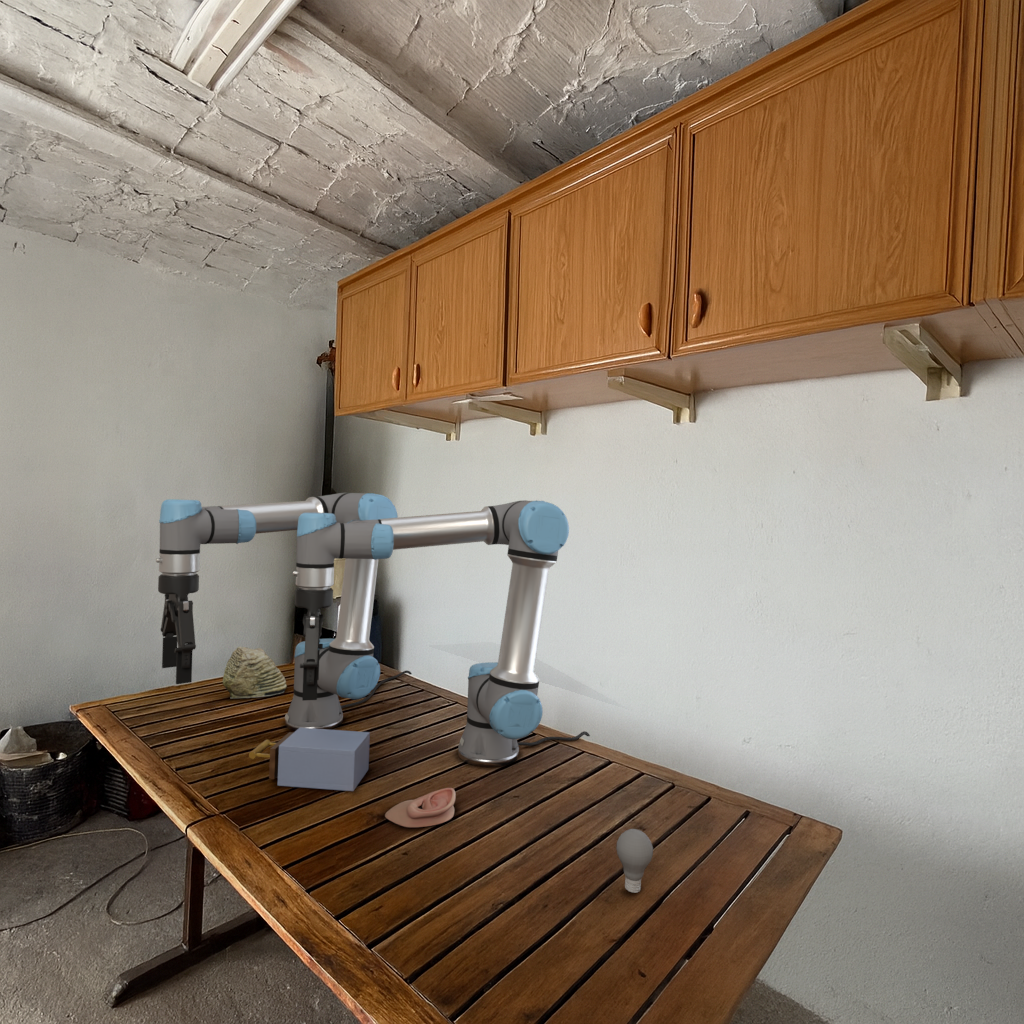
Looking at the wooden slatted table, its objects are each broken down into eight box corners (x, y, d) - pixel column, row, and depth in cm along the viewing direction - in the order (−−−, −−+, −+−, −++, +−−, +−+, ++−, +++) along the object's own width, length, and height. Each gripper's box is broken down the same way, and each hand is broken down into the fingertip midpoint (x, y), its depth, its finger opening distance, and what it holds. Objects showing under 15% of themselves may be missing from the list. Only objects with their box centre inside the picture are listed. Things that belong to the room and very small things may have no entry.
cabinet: (277, 785, 138) (278, 745, 138) (298, 764, 149) (299, 727, 149) (353, 791, 137) (354, 750, 137) (368, 769, 148) (369, 732, 148)
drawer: (245, 777, 139) (246, 746, 139) (265, 758, 149) (266, 730, 149) (338, 784, 138) (339, 753, 138) (352, 765, 148) (353, 736, 148)
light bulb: (610, 879, 108) (613, 822, 108) (644, 879, 109) (647, 822, 109) (619, 902, 102) (622, 840, 102) (655, 901, 103) (658, 840, 103)
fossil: (218, 695, 195) (220, 647, 195) (278, 685, 208) (279, 640, 207) (228, 703, 189) (230, 653, 188) (289, 692, 201) (290, 645, 201)
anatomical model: (379, 803, 124) (401, 778, 135) (378, 823, 124) (400, 796, 135) (444, 812, 121) (461, 786, 132) (443, 833, 121) (460, 805, 132)
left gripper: (147, 567, 139) (144, 663, 140) (171, 582, 120) (168, 693, 120) (185, 566, 144) (182, 659, 144) (214, 580, 125) (211, 687, 125)
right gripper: (298, 579, 142) (295, 673, 142) (291, 596, 118) (287, 710, 118) (333, 579, 144) (330, 672, 144) (333, 596, 120) (329, 708, 120)
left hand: (176, 674), depth 132 cm, fingers open, 13 cm apart
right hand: (310, 689), depth 131 cm, fingers open, 13 cm apart
